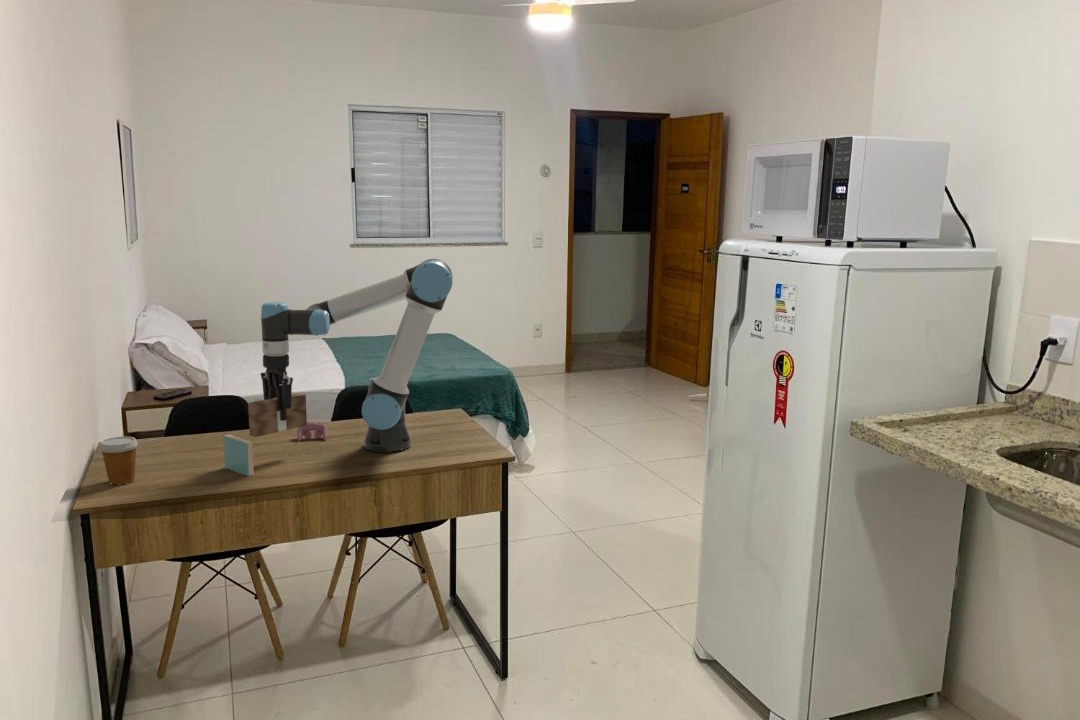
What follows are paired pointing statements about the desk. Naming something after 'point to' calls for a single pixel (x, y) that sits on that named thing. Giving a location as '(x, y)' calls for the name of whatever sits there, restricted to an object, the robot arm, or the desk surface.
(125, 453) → the disposable coffee cup
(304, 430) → the video game controller
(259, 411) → the wooden plank
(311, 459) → the desk surface
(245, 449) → the tile
